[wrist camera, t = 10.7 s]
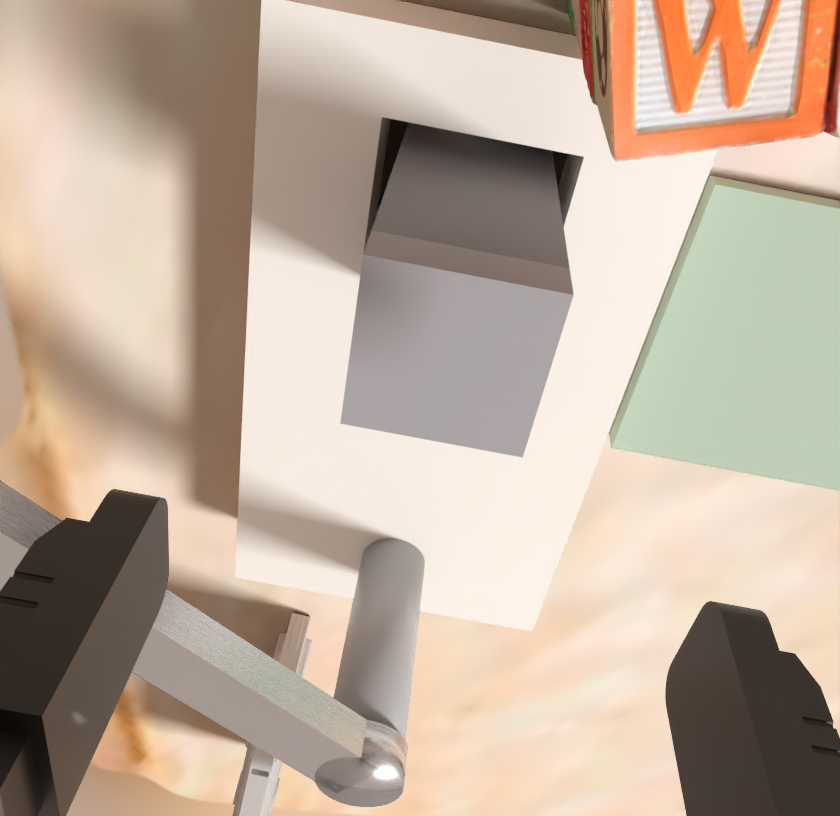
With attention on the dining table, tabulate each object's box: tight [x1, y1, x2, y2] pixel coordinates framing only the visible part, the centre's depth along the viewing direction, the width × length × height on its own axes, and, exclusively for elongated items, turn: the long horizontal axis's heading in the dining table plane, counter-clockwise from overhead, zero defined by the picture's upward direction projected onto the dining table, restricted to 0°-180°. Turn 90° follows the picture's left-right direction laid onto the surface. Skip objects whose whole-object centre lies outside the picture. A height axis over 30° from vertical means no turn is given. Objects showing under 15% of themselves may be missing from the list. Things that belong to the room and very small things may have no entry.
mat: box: [609, 175, 840, 491], centre depth 27 cm, size 10×10×1 cm
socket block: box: [235, 0, 718, 739], centre depth 24 cm, size 21×12×10 cm, turn 170°
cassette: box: [233, 613, 312, 816], centre depth 38 cm, size 12×2×8 cm, turn 166°
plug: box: [340, 122, 573, 458], centre depth 21 cm, size 4×4×10 cm
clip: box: [0, 481, 408, 807], centre depth 21 cm, size 16×3×1 cm, turn 45°
